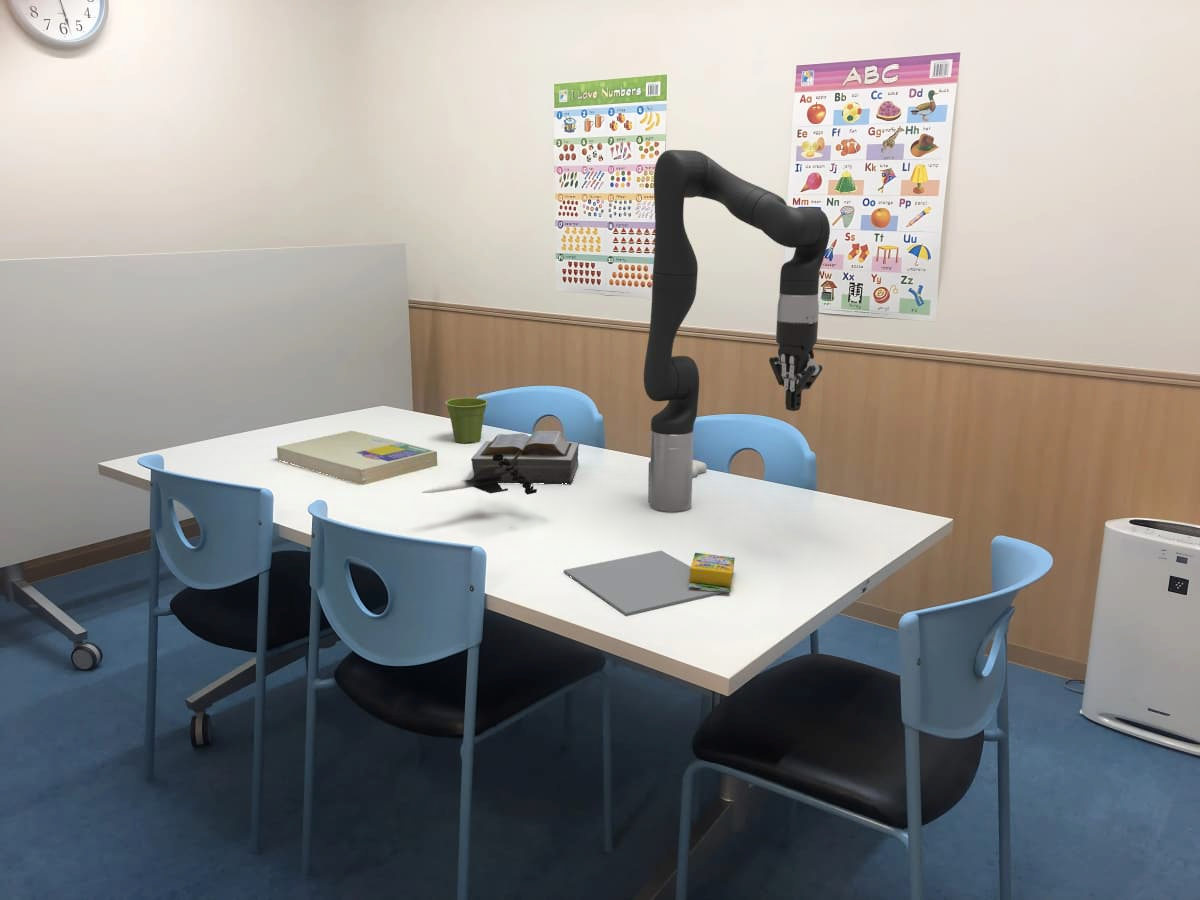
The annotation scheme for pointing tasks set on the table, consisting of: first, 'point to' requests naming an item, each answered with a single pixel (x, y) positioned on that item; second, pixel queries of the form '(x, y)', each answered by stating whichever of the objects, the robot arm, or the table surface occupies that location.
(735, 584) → the table surface
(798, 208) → the robot arm
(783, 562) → the table surface
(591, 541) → the table surface
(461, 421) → the plant pot
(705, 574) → the crayon box
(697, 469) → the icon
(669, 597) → the slate mat
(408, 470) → the puzzle box
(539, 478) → the bible
